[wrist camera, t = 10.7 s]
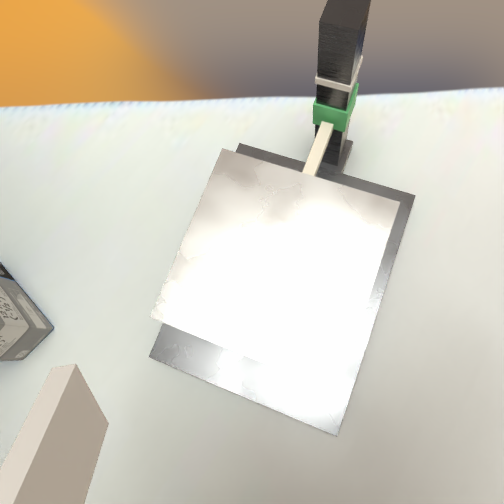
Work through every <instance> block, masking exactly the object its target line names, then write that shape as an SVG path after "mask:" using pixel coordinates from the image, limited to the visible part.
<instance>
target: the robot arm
mask: <svg viewBox="0 0 504 504" xmlns="http://www.w3.org/2000/svg"><path fill="white" fill-rule="evenodd" d="M108 424H109V423H108V422H107V420H106V418H105V416H104V414H103V412H102V411H101V409H100V407H99V405H98V403H97V401H96V400H95V398H94V396H93V394H92V392H91V390H90V389H89V387H88V385H87V383H86V381H85V379H84V378H83V376H82V374H81V372H80V370H79V368H78V367H77V365H76V364H72V365H66V366H60V367H55V368H52V369H51V371H50V373H49V375H48V377H47V379H46V381H45V383H44V385H43V387H42V388H41V390H40V392H39V394H38V396H37V398H36V400H35V402H34V404H33V406H32V408H31V410H30V412H29V414H28V416H27V418H26V420H25V422H24V424H23V426H22V428H21V430H20V432H19V434H18V436H17V437H16V439H15V441H14V443H13V445H12V447H11V449H10V451H9V453H8V455H7V457H6V459H5V461H4V463H3V465H2V467H1V469H0V504H84V502H85V499H86V496H87V493H88V489H89V486H90V483H91V480H92V476H93V473H94V470H95V467H96V463H97V460H98V457H99V453H100V450H101V447H102V444H103V440H104V437H105V434H106V431H107V427H108Z"/></svg>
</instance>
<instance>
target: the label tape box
mask: <svg viewBox="0 0 504 504" xmlns="http://www.w3.org/2000/svg"><path fill="white" fill-rule="evenodd" d="M52 330H53V326H52V325H51V324H50V323H49V321H48V320H47V319H46V318H45V317H44V315H43V314H42V313H41V312H40V311H39V309H38V308H37V307H36V306H35V304H34V303H33V302H32V301H31V300H30V298H29V297H28V296H27V295H26V294H25V293H24V291H23V290H22V289H21V288H20V287H19V285H18V284H17V283H16V282H15V280H14V279H13V278H12V277H11V276H10V274H9V273H8V272H7V271H6V270H5V268H4V267H3V266H2V265H1V264H0V361H13V360H23V359H24V358H25V357H26V356H27V355H28V354H29V353H30V352H31V351H32V350H33V349H34V348H35V347H36V346H37V345H38V344H39V343H40V342H41V341H42V340H43V339H44V338H45V337H46V336H47V335H48V334H49V333H50V332H51V331H52Z"/></svg>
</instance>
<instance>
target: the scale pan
mask: <svg viewBox="0 0 504 504" xmlns="http://www.w3.org/2000/svg"><path fill="white" fill-rule="evenodd" d="M333 125H334V124H331V123H327V122H324V121H322V122H321V125H320V128H319V130H318V133H317V135H316V138H315V140H314V143H313V146H312V148H311V151H310V153H309V156H308V159H307V161H306V164H305V166H304V169H303V172H299V171H295V170H292V169H289V168H285V167H282V166H279V165H276V164H272V163H269V162H266V161H262V160H259V159H256V158H252V157H249V156H246V155H242V154H239V153H236V152H233V151H229V150H226V149H223V148H222V151H221V153H220V155H219V158H218V160H217V162H216V164H215V167H214V169H213V171H212V174H211V176H210V178H209V181H208V183H207V185H206V188H205V190H204V192H203V195H202V197H201V199H200V202H199V204H198V206H197V209H196V211H195V213H194V215H193V218H192V220H191V222H190V225H189V227H188V229H187V232H186V234H185V236H184V239H183V241H182V243H181V246H180V248H179V250H178V253H177V255H176V257H175V260H174V262H173V264H172V267H171V269H170V271H169V273H168V276H167V278H166V280H165V283H164V285H163V287H162V290H161V292H160V294H159V297H158V299H157V301H156V304H155V306H154V308H153V311H152V313H151V315H150V317H151V318H153V319H156V320H158V321H161V322H163V323H166V324H168V325H171V326H173V327H176V328H178V329H181V330H183V331H186V332H188V333H191V334H193V335H196V336H198V337H201V338H203V339H206V340H208V341H211V342H213V343H216V344H218V345H220V346H223V347H225V348H228V349H230V350H233V351H235V352H238V353H240V354H243V355H245V356H248V357H250V358H253V359H255V360H258V361H260V362H263V363H265V364H268V365H270V366H273V367H275V368H278V369H280V370H283V371H285V372H288V373H290V374H293V375H295V376H298V377H300V378H303V379H305V380H308V381H310V382H312V383H315V384H317V385H320V386H322V387H325V388H327V389H330V390H332V391H335V392H338V389H339V386H340V383H341V380H342V377H343V374H344V371H345V368H346V365H347V362H348V359H349V356H350V353H351V350H352V347H353V344H354V341H355V337H356V334H357V331H358V328H359V325H360V322H361V319H362V316H363V313H364V310H365V307H366V304H367V301H368V298H369V295H370V292H371V289H372V286H373V283H374V280H375V277H376V274H377V271H378V268H379V265H380V262H381V259H382V256H383V253H384V250H385V247H386V244H387V241H388V238H389V235H390V232H391V229H392V226H393V223H394V220H395V217H396V214H397V211H398V208H399V205H400V202H398V201H395V200H391V199H388V198H385V197H381V196H378V195H375V194H371V193H368V192H365V191H361V190H358V189H355V188H352V187H348V186H345V185H342V184H338V183H335V182H332V181H328V180H325V179H322V178H319V177H315V176H316V174H317V171H318V168H319V166H320V163H321V160H322V158H323V155H324V153H325V150H326V147H327V145H328V142H329V139H330V137H331V134H332V131H333Z"/></svg>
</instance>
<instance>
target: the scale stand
mask: <svg viewBox="0 0 504 504" xmlns="http://www.w3.org/2000/svg"><path fill="white" fill-rule="evenodd" d="M370 2H371V0H328V1H327V4H326V6H325V9H324V11H323V14H322V16H321V18H320V21H319V44H318V70H317V75H316V77H315V83H316V84H317V96H316V99H315V101H314V104H313V124H315V138H316V135H317V133H318V130H319V128H320V125H321V122H322V121H324V122H327V123H331V124H334V125H333V131H332V134H331V137H330V139H329V142H328V145H327V147H326V150H325V153H324V155H323V158H322V160H321V163H320V166H319V168H318V171H317V174H316V176H315V177H319V178H322V179H325V180H328V181H332V182H335V183H338V184H342V185H345V186H348V187H352V188H355V189H358V190H361V191H365V192H368V193H371V194H375V195H378V196H381V197H385V198H388V199H391V200H395V201H398V202H400V205H399V208H398V211H397V214H396V217H395V220H394V223H393V226H392V229H391V232H390V235H389V238H388V241H387V244H386V247H385V250H384V253H383V256H382V259H381V262H380V265H379V268H378V271H377V274H376V277H375V280H374V283H373V286H372V289H371V292H370V295H369V298H368V301H367V304H366V307H365V310H364V313H363V316H362V319H361V322H360V325H359V328H358V331H357V334H356V337H355V341H354V344H353V347H352V350H351V353H350V356H349V359H348V362H347V365H346V368H345V371H344V374H343V377H342V380H341V383H340V386H339V389H338V392H335V391H332V390H330V389H327V388H325V387H322V386H320V385H317V384H315V383H312V382H310V381H308V380H305V379H303V378H300V377H298V376H295V375H293V374H290V373H288V372H285V371H283V370H280V369H278V368H275V367H273V366H270V365H268V364H265V363H263V362H260V361H258V360H255V359H253V358H250V357H248V356H245V355H243V354H240V353H238V352H235V351H233V350H230V349H228V348H225V347H223V346H220V345H218V344H216V343H213V342H211V341H208V340H206V339H203V338H201V337H198V336H196V335H193V334H191V333H188V332H186V331H183V330H181V329H178V328H176V327H173V326H171V325H168V324H166V323H163V325H162V327H161V329H160V332H159V334H158V336H157V339H156V341H155V344H154V346H153V348H152V351H151V353H150V355H149V357H150V358H153V359H155V360H157V361H160V362H162V363H164V364H167V365H169V366H172V367H174V368H176V369H179V370H181V371H183V372H186V373H188V374H190V375H193V376H195V377H198V378H200V379H202V380H205V381H207V382H209V383H212V384H214V385H216V386H219V387H221V388H224V389H226V390H228V391H231V392H233V393H235V394H238V395H240V396H242V397H245V398H247V399H250V400H252V401H254V402H257V403H259V404H261V405H264V406H266V407H268V408H271V409H273V410H276V411H278V412H280V413H283V414H285V415H287V416H290V417H292V418H294V419H297V420H299V421H302V422H304V423H306V424H309V425H311V426H313V427H316V428H318V429H320V430H323V431H325V432H328V433H330V434H332V435H335V436H337V435H338V432H339V429H340V426H341V423H342V420H343V417H344V414H345V411H346V408H347V405H348V402H349V399H350V395H351V392H352V389H353V386H354V383H355V380H356V377H357V374H358V371H359V368H360V365H361V362H362V358H363V355H364V352H365V349H366V346H367V343H368V340H369V337H370V334H371V331H372V328H373V325H374V322H375V318H376V315H377V312H378V309H379V306H380V303H381V300H382V297H383V294H384V291H385V288H386V285H387V281H388V278H389V275H390V272H391V269H392V266H393V263H394V260H395V257H396V254H397V251H398V248H399V245H400V241H401V238H402V235H403V232H404V229H405V226H406V223H407V220H408V217H409V214H410V211H411V208H412V204H413V201H414V198H415V195H412V194H409V193H406V192H402V191H399V190H396V189H392V188H389V187H385V186H382V185H379V184H375V183H372V182H369V181H365V180H362V179H359V178H355V177H352V176H348V175H345V174H342V173H343V170H344V168H345V165H346V162H347V159H348V157H349V154H350V151H351V148H352V145H353V141H350V140H346V138H347V133H348V127H349V122H350V117H351V114H352V111H353V108H354V106H355V102H356V97H357V91H358V86H359V84H358V83H356V82H357V76H358V71H359V69H360V66H361V63H362V59H363V56H361V54H362V48H363V42H364V37H365V31H366V25H367V20H368V14H369V8H370ZM236 153H239V154H242V155H246V156H249V157H252V158H256V159H259V160H262V161H266V162H269V163H272V164H276V165H279V166H282V167H285V168H289V169H292V170H295V171H299V172H303V169H304V166H305V164H306V163H305V162H301V161H298V160H295V159H291V158H288V157H285V156H281V155H278V154H274V153H271V152H268V151H264V150H261V149H258V148H254V147H251V146H248V145H244V144H241V143H239V145H238V148H237V150H236Z"/></svg>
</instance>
